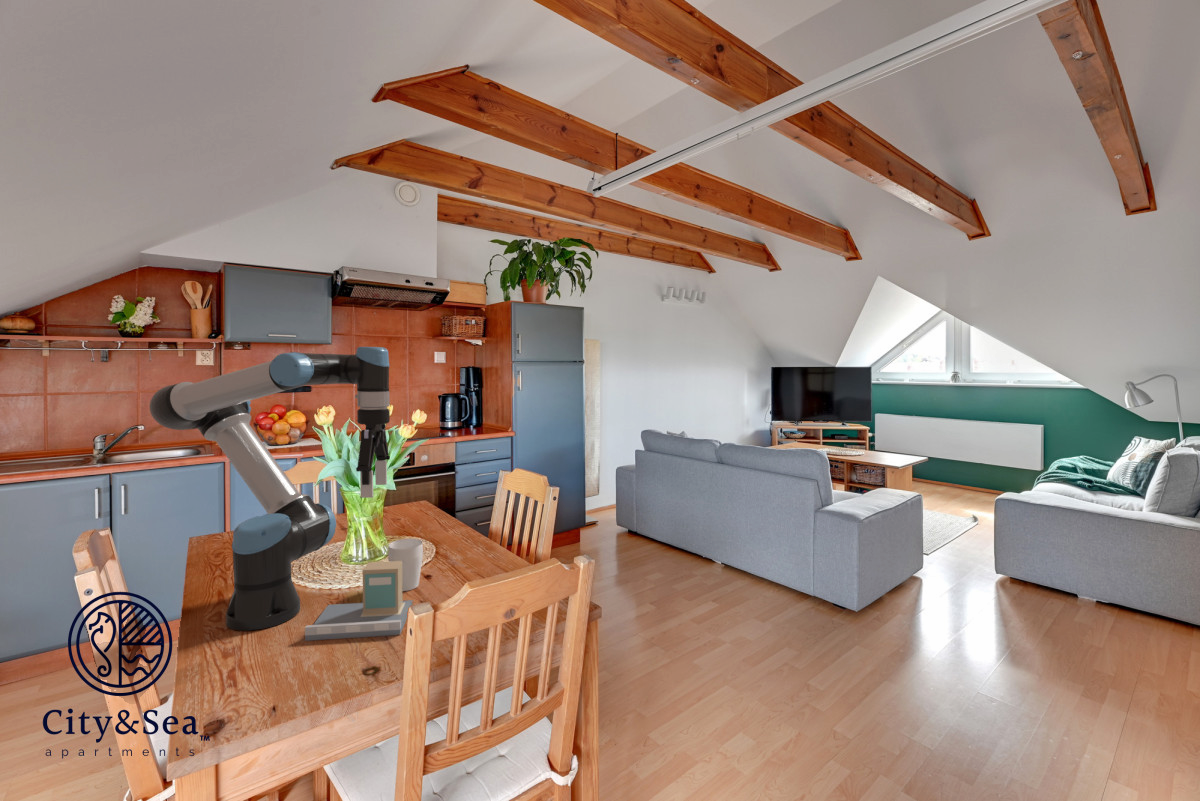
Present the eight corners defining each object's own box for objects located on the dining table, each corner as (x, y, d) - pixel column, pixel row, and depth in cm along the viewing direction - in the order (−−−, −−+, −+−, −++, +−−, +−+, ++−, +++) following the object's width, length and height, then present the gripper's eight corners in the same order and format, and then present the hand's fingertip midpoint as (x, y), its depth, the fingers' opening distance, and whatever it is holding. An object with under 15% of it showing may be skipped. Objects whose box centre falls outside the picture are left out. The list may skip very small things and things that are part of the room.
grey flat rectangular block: (304, 641, 116) (304, 628, 116) (328, 609, 131) (328, 597, 131) (400, 635, 119) (399, 622, 119) (412, 604, 134) (412, 593, 134)
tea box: (362, 615, 125) (362, 570, 125) (368, 605, 130) (368, 562, 130) (398, 613, 127) (397, 569, 126) (402, 603, 132) (402, 560, 131)
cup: (411, 594, 140) (411, 550, 139) (381, 591, 142) (380, 547, 141) (429, 581, 149) (429, 539, 148) (400, 578, 150) (400, 537, 150)
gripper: (371, 404, 145) (372, 480, 147) (341, 412, 120) (342, 503, 122) (399, 404, 146) (400, 479, 148) (376, 412, 122) (377, 503, 123)
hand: (374, 490), depth 135 cm, fingers open, 13 cm apart
